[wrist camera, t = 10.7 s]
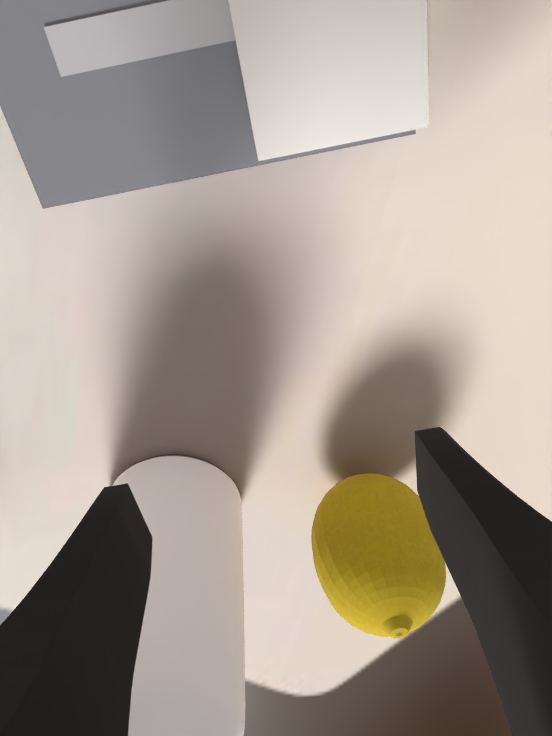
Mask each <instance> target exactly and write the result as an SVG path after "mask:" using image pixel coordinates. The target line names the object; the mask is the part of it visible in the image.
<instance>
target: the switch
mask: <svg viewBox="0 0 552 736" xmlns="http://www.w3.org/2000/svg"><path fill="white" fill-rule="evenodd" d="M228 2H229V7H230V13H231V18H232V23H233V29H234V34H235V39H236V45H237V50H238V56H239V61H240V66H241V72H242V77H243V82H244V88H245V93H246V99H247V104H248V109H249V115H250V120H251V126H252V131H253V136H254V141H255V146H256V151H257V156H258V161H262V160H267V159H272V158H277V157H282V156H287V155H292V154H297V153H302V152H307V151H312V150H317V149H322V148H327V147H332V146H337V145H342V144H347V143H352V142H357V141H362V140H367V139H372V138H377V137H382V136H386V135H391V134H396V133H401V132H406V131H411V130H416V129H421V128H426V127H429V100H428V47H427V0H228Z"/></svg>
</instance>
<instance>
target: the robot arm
mask: <svg viewBox="0 0 552 736" xmlns="http://www.w3.org/2000/svg"><path fill="white" fill-rule="evenodd" d="M415 447H416V470H417V491H418V494H419V497H420V500H421V503H422V506H423V510H424V513H425V516H426V519H427V522H428V524H429V527H430V530H431V532H432V534H433V537H434V539H435V541H436V543H437V545H438V547H439V550H440V552H441V554H442V556H443V558H444V560H445V563H446V565H447V567H448V569H449V571H450V573H451V575H452V578H453V580H454V582H455V584H456V586H457V588H458V591H459V593H460V595H461V597H462V599H463V601H464V603H465V606H466V608H467V610H468V612H469V614H470V617H471V619H472V622H473V624H474V626H475V629H476V631H477V634H478V637H479V640H480V643H481V646H482V648H483V651H484V654H485V657H486V659H487V662H488V665H489V668H490V671H491V673H492V676H493V679H494V682H495V685H496V688H497V691H498V694H499V697H500V700H501V703H502V706H503V709H504V711H505V715H506V718H507V721H508V724H509V727H510V730H511V733H512V736H552V522H551V521H550V520H549V519H547V518H546V517H544V516H543V515H542V514H540V513H539V512H538V511H536V510H535V509H533V508H532V507H531V506H530V505H528V504H527V503H526V502H524V501H523V500H522V499H520V498H519V497H518V496H517V495H515V494H514V493H513V492H512V491H510V490H509V489H508V488H507V487H506V486H504V485H503V484H502V483H501V482H500V481H498V480H497V479H496V478H495V477H494V476H493V475H491V474H490V473H489V472H488V471H487V470H486V469H485V468H483V467H482V466H481V465H480V464H479V463H478V462H477V461H476V460H475V459H473V458H472V457H471V456H470V455H469V454H468V453H467V452H466V451H465V450H464V449H463V448H462V447H461V446H460V445H459V444H458V443H457V442H456V441H455V440H454V439H453V438H452V437H451V436H450V435H449V434H448V433H447V432H446V431H445V430H443V429H442V428H441V427H437V428H431V429H425V430H420V431H415ZM152 538H153V537H152V535H151V533H150V531H149V529H148V526H147V524H146V522H145V520H144V518H143V515H142V513H141V511H140V509H139V507H138V504H137V502H136V500H135V498H134V496H133V493H132V491H131V489H130V487H129V485H128V483H126V484H121V485H115V486H109V487H104V489H103V490H102V491H101V493H100V494H99V496H98V497H97V498H96V500H95V501H94V503H93V504H92V506H91V507H90V509H89V510H88V511H87V513H86V514H85V516H84V517H83V519H82V520H81V522H80V523H79V525H78V526H77V528H76V529H75V530H74V532H73V533H72V535H71V536H70V538H69V539H68V540H67V542H66V543H65V545H64V546H63V547H62V549H61V550H60V552H59V553H58V554H57V556H56V557H55V559H54V560H53V561H52V563H51V564H50V566H49V567H48V568H47V569H46V571H45V572H44V573H43V575H42V576H41V577H40V578H39V580H38V581H37V582H36V584H35V585H34V586H33V587H32V589H31V590H30V591H29V593H28V594H27V595H26V596H25V598H24V599H23V600H22V601H21V602H20V604H19V605H18V606H17V607H16V608H15V609H14V611H13V612H12V613H11V614H10V615H9V616H8V617H7V619H6V620H5V621H4V622H3V623H2V624H1V625H0V736H128V728H129V716H130V704H131V691H132V683H133V675H134V668H135V662H136V657H137V651H138V646H139V640H140V635H141V629H142V624H143V618H144V613H145V607H146V601H147V595H148V590H149V584H150V577H151V563H152Z"/></svg>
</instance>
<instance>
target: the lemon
mask: <svg viewBox="0 0 552 736" xmlns="http://www.w3.org/2000/svg"><path fill="white" fill-rule="evenodd" d="M312 551H313V560H314V565H315V569H316V572H317V575H318V578H319V581H320V583H321V585H322V587H323V590H324V591H325V593H326V595H327V597H328V599H329V601H330V603H331V604H332V606H333V607H334V609H335V610H336V611H337V612H338V613H339V614H340V616H341V617H343V618H344V619H345V620H346V621H347V622H348V623H350V624H351V625H352V626H354V627H356V628H358V629H360V630H362V631H364V632H366V633H369V634H373V635H378V636H386V637H390V636H391V637H393V638H403V637H405V636H406V635H407V634H408V633H409V632H411V631H413V630H415V629H417V628H418V627H420V626H421V625H422V624H423V623H424V622H426V621H427V620H428V619H429V618H430V616H431V615H432V614H433V612H434V611H435V610H436V608H437V606H438V605H439V603H440V601H441V597H442V594H443V591H444V587H445V581H446V569H445V560H444V558H443V556H442V554H441V552H440V550H439V547H438V545H437V543H436V541H435V539H434V537H433V534H432V532H431V530H430V527H429V524H428V522H427V519H426V516H425V513H424V510H423V506H422V503H421V500H420V497H419V496H418V495H417V494H416V493H415V492H413V491H412V490H411V489H410V488H409V487H408V486H407V485H406V484H404V483H402V482H400V481H398V480H396V479H394V478H392V477H389V476H386V475H382V474H375V473H364V474H358V475H354V476H351V477H348V478H346V479H344V480H342V481H341V482H339V483H337V484H336V485H335V486H334V487H333V488H331V489H330V490H329V491H328V492H327V493H326V495H325V496H324V498H323V499H322V501H321V503H320V504H319V506H318V508H317V511H316V514H315V518H314V521H313V526H312Z"/></svg>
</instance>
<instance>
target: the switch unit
mask: <svg viewBox="0 0 552 736" xmlns="http://www.w3.org/2000/svg"><path fill="white" fill-rule="evenodd" d="M0 106H1V109H2V111H3V114H4V116H5V118H6V121H7V123H8V126H9V128H10V130H11V133H12V135H13V138H14V140H15V142H16V145H17V147H18V150H19V152H20V155H21V157H22V159H23V162H24V164H25V167H26V169H27V171H28V174H29V176H30V179H31V181H32V183H33V186H34V188H35V191H36V193H37V196H38V198H39V200H40V203H41V205H42V208H43V209H44V208H49V207H54V206H59V205H64V204H69V203H74V202H79V201H84V200H89V199H94V198H99V197H104V196H109V195H114V194H119V193H124V192H128V191H133V190H138V189H143V188H148V187H153V186H158V185H163V184H168V183H173V182H178V181H183V180H188V179H193V178H198V177H203V176H208V175H213V174H218V173H223V172H228V171H233V170H238V169H243V168H248V167H253V166H258V165H263V164H268V163H272V162H277V161H282V160H287V159H292V158H297V157H302V156H307V155H312V154H317V153H322V152H327V151H332V150H337V149H342V148H347V147H352V146H357V145H362V144H367V143H372V142H377V141H382V140H387V139H392V138H397V137H402V136H407V135H412V134H416V133H415V130H411V131H406V132H401V133H396V134H391V135H386V136H382V137H377V138H372V139H367V140H362V141H357V142H352V143H347V144H342V145H337V146H332V147H327V148H322V149H317V150H312V151H307V152H302V153H297V154H292V155H287V156H282V157H277V158H272V159H267V160H262V161H258V156H257V151H256V146H255V141H254V136H253V131H252V126H251V120H250V115H249V109H248V104H247V99H246V93H245V88H244V82H243V77H242V72H241V66H240V61H239V56H238V50H237V45H236V39H235V34H234V29H233V23H232V18H231V13H230V7H229V2H228V0H0Z"/></svg>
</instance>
